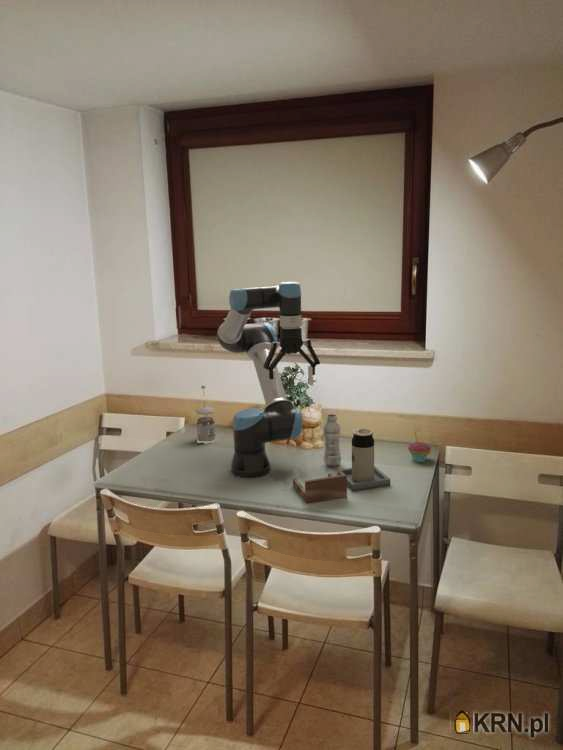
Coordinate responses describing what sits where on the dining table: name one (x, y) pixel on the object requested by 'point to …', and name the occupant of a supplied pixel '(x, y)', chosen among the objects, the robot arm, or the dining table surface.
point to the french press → (205, 423)
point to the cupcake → (419, 450)
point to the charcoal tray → (378, 481)
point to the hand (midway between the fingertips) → (292, 386)
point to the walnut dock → (322, 488)
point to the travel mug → (362, 455)
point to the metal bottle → (332, 441)
